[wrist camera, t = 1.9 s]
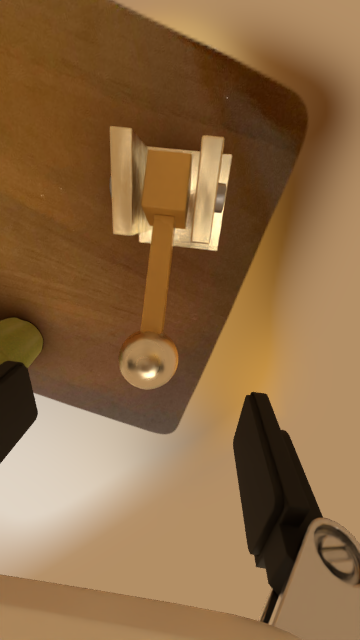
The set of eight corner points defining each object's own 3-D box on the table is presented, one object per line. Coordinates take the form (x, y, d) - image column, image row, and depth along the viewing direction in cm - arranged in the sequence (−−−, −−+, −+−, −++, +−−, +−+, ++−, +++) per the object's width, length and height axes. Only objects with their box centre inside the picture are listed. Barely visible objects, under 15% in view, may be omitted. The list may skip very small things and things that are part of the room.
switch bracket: (216, 249, 24) (232, 282, 12) (141, 241, 24) (87, 266, 12) (231, 157, 20) (272, 81, 9) (143, 148, 20) (70, 64, 9)
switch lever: (176, 383, 14) (172, 402, 11) (124, 376, 14) (105, 393, 11) (199, 187, 14) (202, 147, 10) (147, 182, 14) (135, 141, 11)
